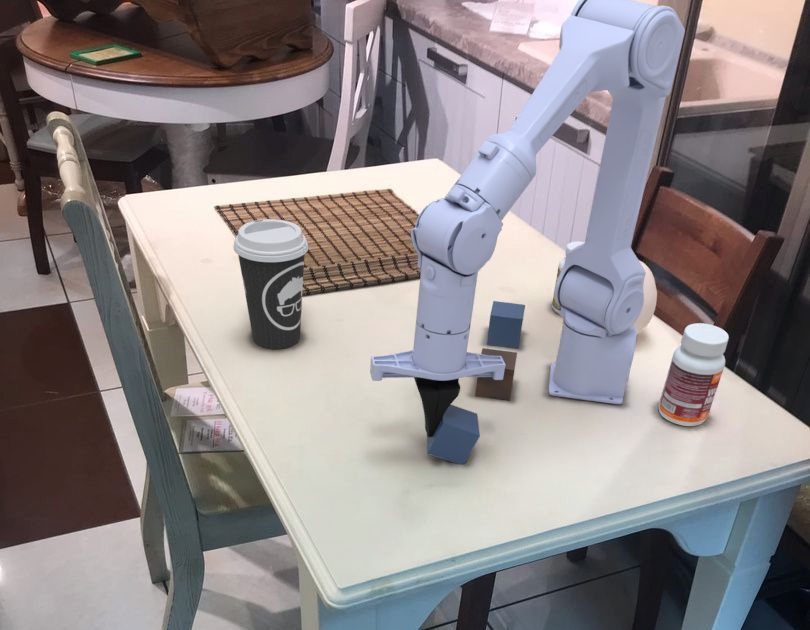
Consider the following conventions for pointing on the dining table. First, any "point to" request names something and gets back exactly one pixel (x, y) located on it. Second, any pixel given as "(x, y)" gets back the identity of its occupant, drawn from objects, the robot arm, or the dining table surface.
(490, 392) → the walnut block
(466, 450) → the blue block near
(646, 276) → the egg
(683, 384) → the pill bottle
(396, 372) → the robot arm
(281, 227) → the coffee cup
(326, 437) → the dining table surface
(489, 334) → the blue block far
